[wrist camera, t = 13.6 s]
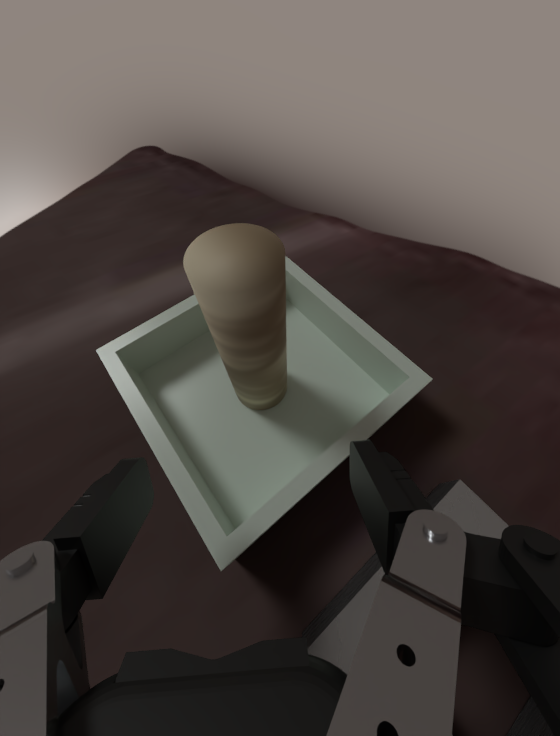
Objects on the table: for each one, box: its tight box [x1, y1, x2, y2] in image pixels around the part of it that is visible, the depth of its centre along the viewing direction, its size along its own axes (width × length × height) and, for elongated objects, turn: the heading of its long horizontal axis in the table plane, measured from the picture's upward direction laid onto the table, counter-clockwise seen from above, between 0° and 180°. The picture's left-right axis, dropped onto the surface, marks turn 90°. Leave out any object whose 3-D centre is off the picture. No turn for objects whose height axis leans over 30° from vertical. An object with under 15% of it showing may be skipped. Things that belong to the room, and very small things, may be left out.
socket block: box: [302, 479, 554, 736], centre depth 13 cm, size 12×12×2 cm
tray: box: [96, 256, 432, 571], centre depth 20 cm, size 16×16×4 cm
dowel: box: [183, 223, 287, 410], centre depth 16 cm, size 4×4×12 cm
